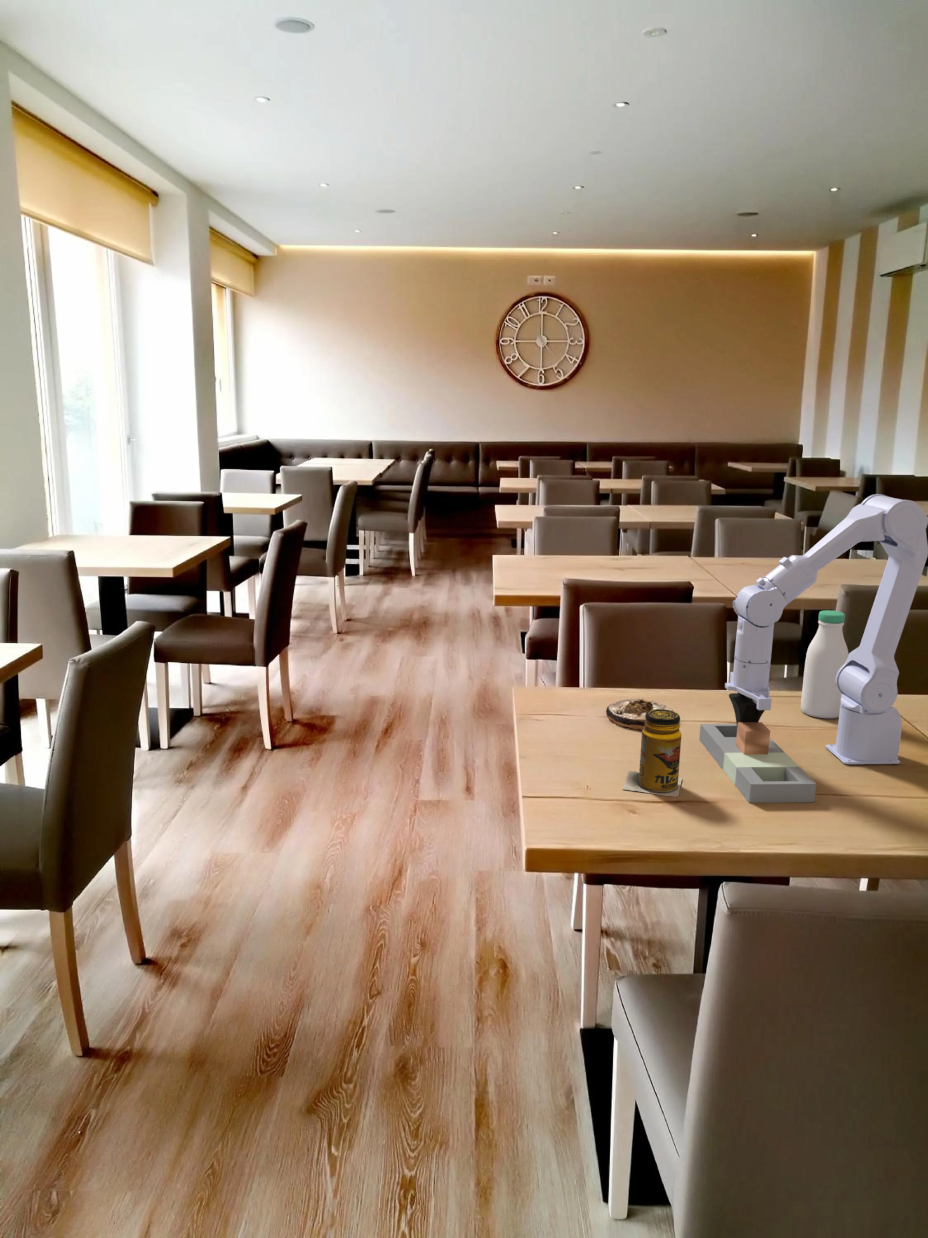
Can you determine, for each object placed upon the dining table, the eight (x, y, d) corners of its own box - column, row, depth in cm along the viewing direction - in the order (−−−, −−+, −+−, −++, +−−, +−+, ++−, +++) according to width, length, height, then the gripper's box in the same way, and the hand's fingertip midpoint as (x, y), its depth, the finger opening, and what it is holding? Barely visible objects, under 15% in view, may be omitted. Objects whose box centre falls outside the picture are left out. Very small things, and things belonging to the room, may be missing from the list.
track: (754, 739, 167) (756, 723, 166) (814, 802, 142) (816, 783, 141) (699, 740, 166) (700, 724, 166) (749, 802, 141) (750, 784, 140)
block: (759, 744, 156) (761, 722, 155) (768, 754, 152) (770, 731, 151) (735, 745, 156) (737, 722, 155) (743, 754, 152) (745, 731, 151)
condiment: (677, 798, 143) (683, 723, 140) (622, 790, 145) (626, 717, 142) (681, 779, 150) (687, 708, 147) (628, 772, 152) (632, 702, 149)
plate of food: (628, 740, 167) (629, 718, 166) (586, 714, 181) (586, 693, 180) (696, 729, 173) (698, 708, 172) (650, 704, 186) (652, 684, 185)
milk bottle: (848, 720, 177) (860, 617, 173) (808, 719, 178) (818, 616, 173) (833, 706, 185) (844, 608, 180) (794, 706, 185) (804, 607, 180)
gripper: (715, 647, 161) (709, 722, 164) (743, 672, 147) (735, 753, 150) (755, 647, 161) (748, 721, 164) (787, 672, 147) (779, 753, 150)
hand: (745, 737), depth 157 cm, fingers closed
